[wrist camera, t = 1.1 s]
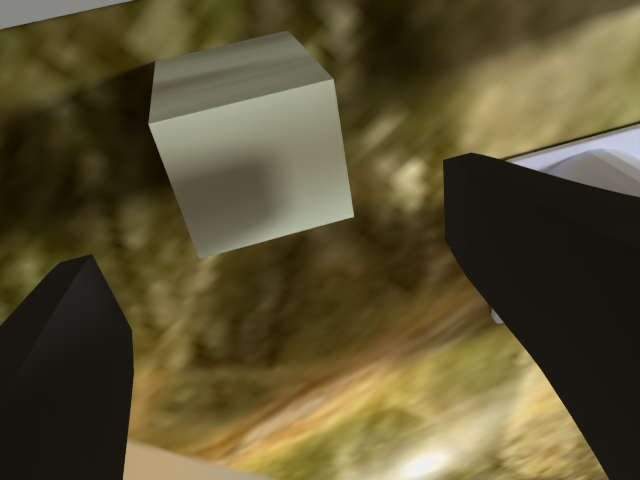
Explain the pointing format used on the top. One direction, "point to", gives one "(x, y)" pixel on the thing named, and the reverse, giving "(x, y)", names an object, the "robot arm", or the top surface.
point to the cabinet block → (250, 142)
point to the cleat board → (44, 9)
